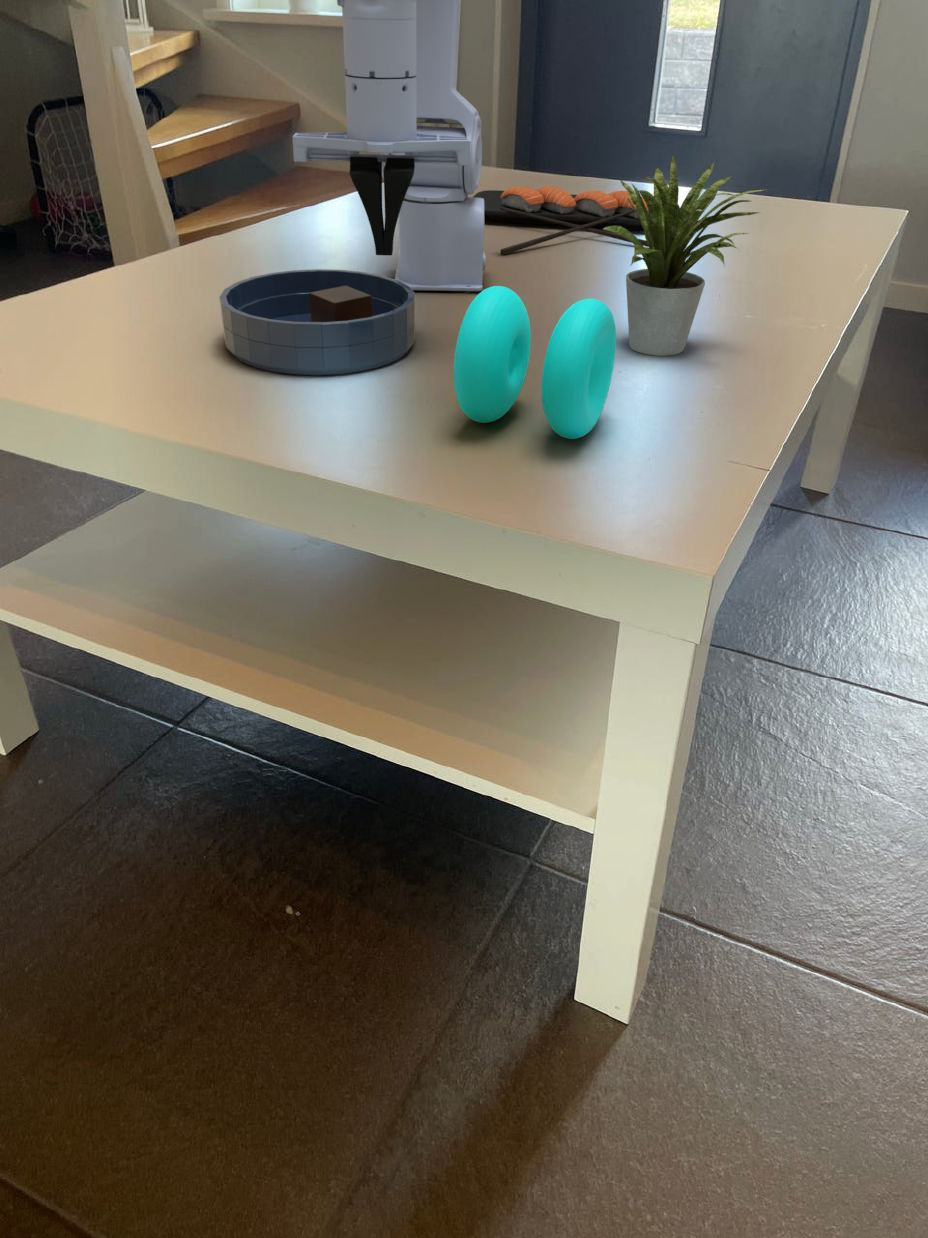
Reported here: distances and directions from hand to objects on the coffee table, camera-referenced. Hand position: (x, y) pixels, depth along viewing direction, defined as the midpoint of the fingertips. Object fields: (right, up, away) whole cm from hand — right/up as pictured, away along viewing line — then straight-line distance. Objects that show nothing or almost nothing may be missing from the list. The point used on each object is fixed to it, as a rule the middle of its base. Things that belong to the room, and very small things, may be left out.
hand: (384, 252), depth 85 cm
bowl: (-6, -7, +4) cm, 10 cm away
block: (-4, -6, +4) cm, 9 cm away
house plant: (+25, -7, +5) cm, 26 cm away
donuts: (+12, -17, -10) cm, 24 cm away
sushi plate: (+21, +19, +45) cm, 53 cm away
